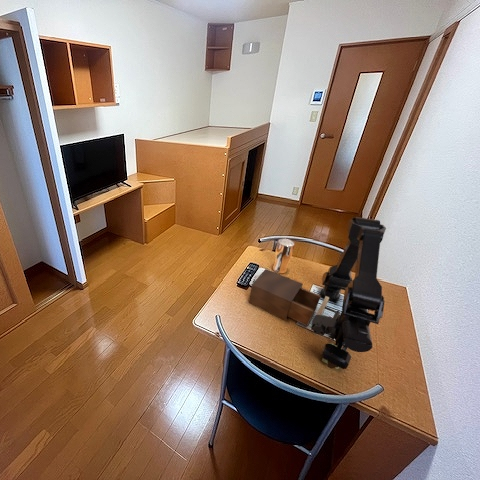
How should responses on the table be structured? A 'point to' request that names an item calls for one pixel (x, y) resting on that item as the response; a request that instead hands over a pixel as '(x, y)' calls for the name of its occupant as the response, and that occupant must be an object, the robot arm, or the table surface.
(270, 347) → the table surface
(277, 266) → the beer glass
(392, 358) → the table surface
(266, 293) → the cabinet
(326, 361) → the block
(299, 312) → the drawer
